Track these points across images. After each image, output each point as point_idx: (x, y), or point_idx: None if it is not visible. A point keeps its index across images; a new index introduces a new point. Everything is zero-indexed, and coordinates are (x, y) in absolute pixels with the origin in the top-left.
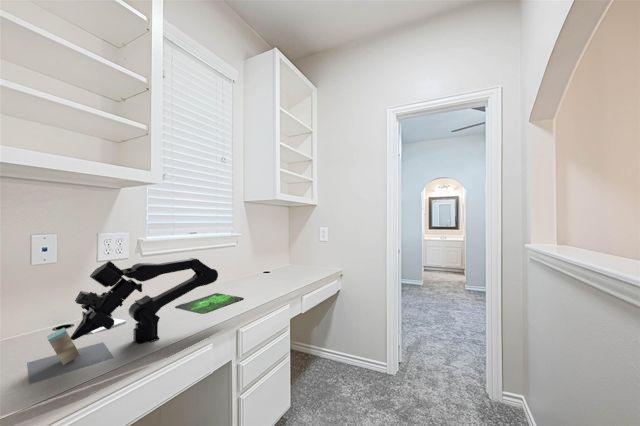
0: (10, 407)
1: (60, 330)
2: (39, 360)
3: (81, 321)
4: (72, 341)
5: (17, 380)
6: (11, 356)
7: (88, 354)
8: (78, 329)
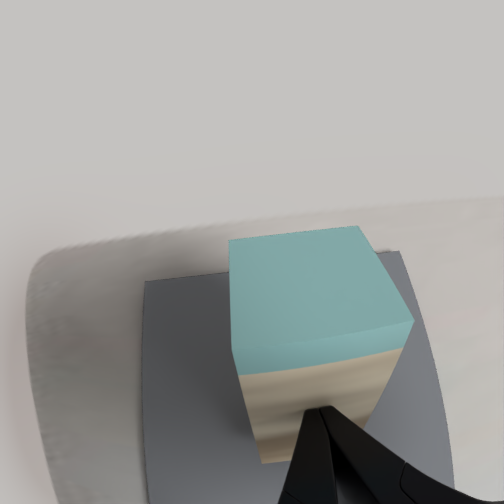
0: (55, 257)
1: (356, 297)
2: (398, 287)
3: (447, 497)
4: (356, 419)
5: None
6: (485, 208)
7: None
8: (290, 479)
